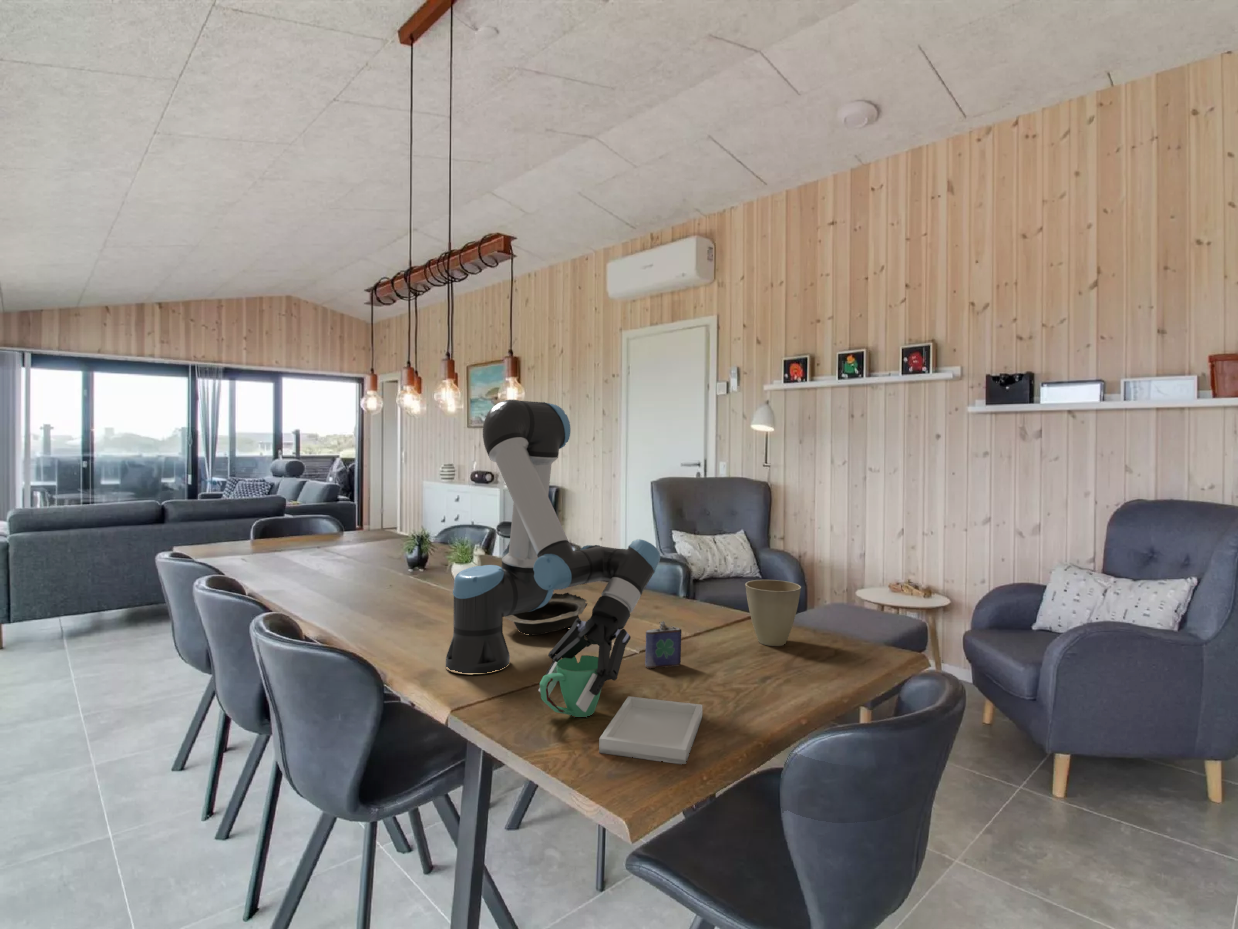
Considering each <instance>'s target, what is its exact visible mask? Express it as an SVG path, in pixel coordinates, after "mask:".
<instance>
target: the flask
mask: <svg viewBox="0 0 1238 929" xmlns="http://www.w3.org/2000/svg"><path fill="white" fill-rule="evenodd" d="M659 624H660V626H659V628H654V629H648V630H645V660H644V661H645V662H644V665H645V668H646V667H647V668H648V669H651V668H655V667H665V668H669V667H668V666H670V667H679V665H680V666H681V664H682V663H681V661H682V654H681V653H682V629H681V628H679V627H678V626H677V627H676V626H674V625H673V626H667V625H666V622H665V621H664V620H663V621H660V622H659ZM666 666H667V667H666ZM647 668H646V669H647ZM655 669H656V668H655Z"/></svg>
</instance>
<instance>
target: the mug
mask: <svg viewBox="0 0 1238 929" xmlns="http://www.w3.org/2000/svg"><path fill="white" fill-rule="evenodd" d="M577 659H578V658H577V657H576V655H575V656H574V657H573V658H572V659H569V658H563V659H562V658H561V659H560V660H559V661H558V662H557V664H556V670H557V673H551V674H547V675H546V674H545V675H543V676H542V678H541V680H540V682H539V688H540V692H539V693H540V699H541V700H542V702H544V703H545V705H547V706H548V707H549V708H550V709H551V710H552V711H553V712H555V713H559V714H563V715H569V716H571V715H572V716H575V717H586V718H588V717H587V716H590V715H592V714H593V713H594V714H595V711H596V708H597V707H598V706H597V705H598V703H599V699H600V697H601V696H600V695H601V692H602V688H603V687H602V688H601V690H600V692H599V694H598V695H597V696H596V695H595V696H594V698H593V700H592V701H591V703H590V705H589V707H588V709H587V711H586V712H584V711H582V710H581V709H580V708H579V707H578V706H577V705H576V703H577V701H578V699H579V697H580V695H581V694H582V692H583V690H584V688H585V686H586V685H587V683H588V681H589V679H590V677H591V675H592V674H593V673H594V674H596V675H598V674H597V673H596V672H595V671H597V668H598V656H595V655H587V654H585V655H584V654H583V655H581V656H580V657H579V661H578V660H577ZM555 680H556V681H557V682H559V686H560V688H559V689H560V691H561V695H562V697H563V701H564V703H565V706H566V707H563V706H558V705H556V704H555V702H554V701H553V699H552V698H551V697H550V695H549V694H548V686H549V684H550V682H553V681H555ZM594 714H593V715H594ZM593 715H592V716H593ZM572 716H571V717H572ZM575 717H574V718H575ZM590 717H591V716H590Z"/></svg>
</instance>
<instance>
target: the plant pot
mask: <svg viewBox="0 0 1238 929" xmlns="http://www.w3.org/2000/svg"><path fill="white" fill-rule="evenodd" d="M744 586H745V593H746V599H747V600H746V601H747V606H748V611H749V614H750V618H751V623H752V626H753V629H754V633H755V635H756V638H757V640H758V643H759V644H761V645H763V646H771V647H781V646H784V644H785V645H786V643H787V641H788V639H789V636H790V633H791V632H792V628H793V625H794V622H795V619H796V615H797V611H798V607H799V602H800V595H801V589H802V586H801V585H799V583H794V582H791V581H785V580H776V579H755V580H749V581H747V582H745V584H744Z"/></svg>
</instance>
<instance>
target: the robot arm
mask: <svg viewBox="0 0 1238 929" xmlns="http://www.w3.org/2000/svg"><path fill="white" fill-rule="evenodd" d="M570 423H571V422H570V420H569V416H568V414H566V412H565V411H564V409H563V408H561V406H558V405H557V404H553V403H548V402H545V401H543V402H542V401H531V400H530V401H529V400H518V399H506V400H502V401H499V402H498V403H496V404H495V405H494V406H493V407H491V408H490V410H489V411H488V413H487V414H486V416H485V418H484V420H483V425H482V439H483V445H484V449H485V451H486V453H487V455H488V459H489V460H490V461H492V462H494V463H496V465H497V467H498V469H499V472H500V474H501V476H502V479H503V481H504V484H505V486H506V487H507V490H508V492H509V494H510V497H511V500H512V501H513V505H512V516H511V526H510V535H509V537H510V538H509V546H508V548H509V549H508V553H506V554H505V555H504V556H503V557H502V558H501V566H499V565H496V564H484V565H476V566H471V567H468V568H464V569H463V570H460V571H459V572H458V573H457V574H456V575H455V577H454V579H453V580H454V582H453V590H452V595H453V635H452V639H451V641H450V644H449V647H448V650H447V653H446V656H445V668H446V667H448V668H449V669H450V670H455V671H458V672H462V673H487V672H492V671H495V670H500V669H502V668H504V667H506V666H507V665H508V664H509V662H510V658H511V656H510V651H509V649H508V644H507V643H506V639H505V636H504V633H503V628H504V627H503V624H504V623H503V620H504V618H505V616H510V615H514V614H519V613H523V612H530V611H533V610H536V609H538V608H541V607H543V606H544V605H546V604H547V603H548V602H549V600H550V599H551V597H552V595H553V594H554V591H555V590H557V591H558V590H565V589H567V588H572V587H575V586H580V585H586V584H591V583H595V582H600V581H607V584H606V585H605V587H604V589H603V590H602V592H601V593H600V594H601V596H599V598H598V599H597V601H596V603H595V604H594V606H593V607H592V610H591V616H590V617H589V618H588V619H587V620H586V621H585V620H581V618H580V617H579V618H577V619H576V620H575V622H574V623H573V625H572V627H571V628H570V629H568V631H567V632H566V633H565V634H564V635H563V636H562V637H561V638H560V640H558V642H557V643H556V644H555V645H554V647H553V648H552V649H551V650H550V651H549V652H548V657H549V658H550V659H551V660H552V662H551V664H550V666H549V667H548V669H547V671H546V672H545V675H547V674H551V673H557V670H556V664H557V662H558V661H559V660H560V659H563V658H569V659H572V658H573V657H574V656H575V657H576V656H577V655H579V653H580V652H582V651H583V650H584V649H585V648H587V647H589V648H590V647H591V645H597V646H598V656H597V657H598V668H597V671H595V672H596V673H597V674H598V675H596V674H594V673H593V674H592V675H591V677H590V679H589V681H588V683H587V685H586V686H585V688H584V690H583V692H582V694H581V695H580V697H579V699H578V701H577V703H576V705H577V706H578V707H579V708H580V709H581V710H582V711H584V712H586V711H587V709H588V707H589V705H590V703H591V701H592V700H593V698H594V696H595V695H596V696H597V695H598V694H599V692H600V690H601V691H602V689H601V688H603V686H604V684H605V682H607V681H609V680H611V681H613V682H614V681H616V680H617V679H618V676H619V673H620V670H621V666H622V661H623V658H624V654H625V650H626V647H627V645H628V643H629V642H630V640H631V635H630V634H629V633H628V631H627V630H626V629H625V626H626V625H627V623H628V622H629V619H630V617H631V613H632V612H633V611H634V609H635V608H636V606H637V604H638V602H639V600H640V598H641V597H642V594H643V592H644V590H645V589H646V587H647V585H648V583H650V582H649V581H651V579H652V577H653V575H654V574H655V573H656V569H657V567H658V565H659V563H660V560H661V553H660V551H659V550H658V548H657V547H656V546H655V545H654V544H653V543H651V542H649V541H647V540H644V539H641V538H639V539H638V538H637V539H635V540H633V541H632V542H631V543H630V544H629V545H628V546H627V548H617V547H608V546H601V545H599V544H598V545H597V544H594V545H591V544H590V545H589V544H587V545H584V546H582V547H581V548H580V549H576V550H573V547H572V545H571V543H570V541H569V539H568V536H567V534H566V532H565V531H564V528H563V526H562V524H561V522H560V519H559V518H558V515H557V513H556V511H555V509H554V507H553V504H552V501H551V500H550V498H549V492H550V491H549V490H550V483H551V481H550V480H551V472H552V464H553V463H554V462H555V461H556V460H558V459H559V454H560V452H559V451H560V450H561V449H563V448H564V447H566V445H567V443H568V442H569V440H570V438H571V424H570ZM613 640H614V643H613ZM612 643H613V647H612ZM510 663H511V662H510ZM509 665H510V664H509ZM557 683H558V681H556V680H555V681H553V682H550V684H549V686H548V694H549V696H550V695H551V693H552V692H553V690H554V688H555V686H556V685H557ZM538 692H539V693H540V687H539V688H538Z"/></svg>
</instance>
